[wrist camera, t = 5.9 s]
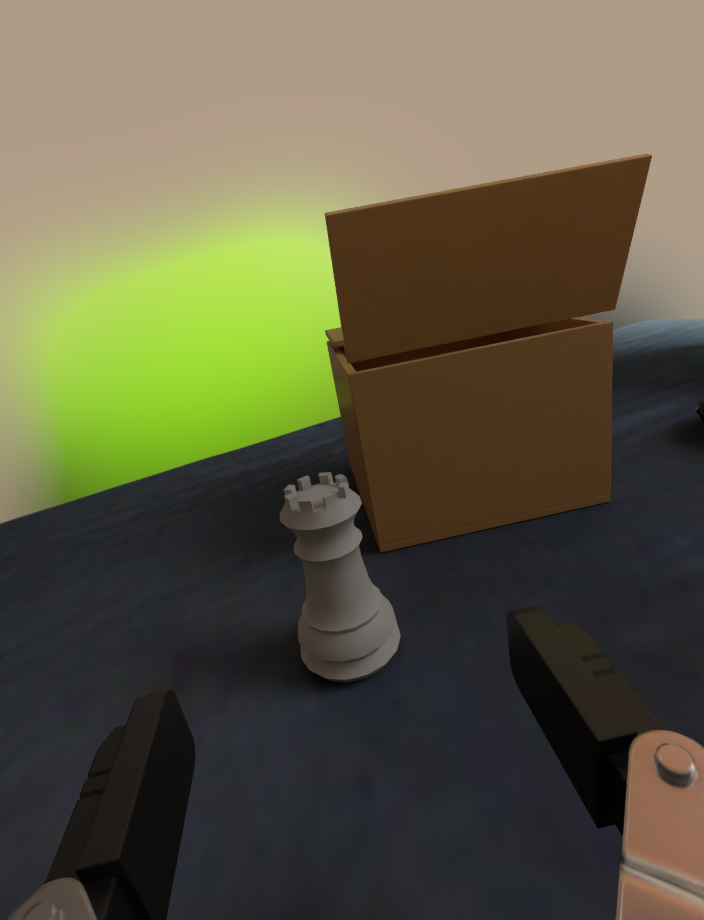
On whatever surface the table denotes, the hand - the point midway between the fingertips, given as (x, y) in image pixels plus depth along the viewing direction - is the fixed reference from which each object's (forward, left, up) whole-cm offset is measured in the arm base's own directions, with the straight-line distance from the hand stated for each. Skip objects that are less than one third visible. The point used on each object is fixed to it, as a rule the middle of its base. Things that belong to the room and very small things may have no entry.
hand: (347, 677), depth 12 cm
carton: (+6, +24, -7) cm, 25 cm away
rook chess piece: (-1, +8, -7) cm, 11 cm away
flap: (+7, +16, +8) cm, 19 cm away
